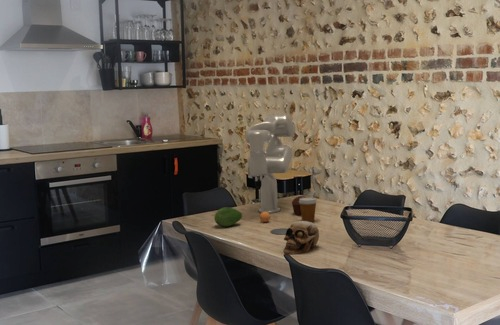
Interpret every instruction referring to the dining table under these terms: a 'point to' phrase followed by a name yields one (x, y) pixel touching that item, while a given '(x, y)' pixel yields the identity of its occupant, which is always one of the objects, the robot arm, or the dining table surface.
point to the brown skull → (301, 237)
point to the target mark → (279, 231)
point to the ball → (265, 216)
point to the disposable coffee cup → (307, 208)
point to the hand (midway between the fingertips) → (258, 187)
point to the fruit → (227, 216)
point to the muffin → (297, 205)
